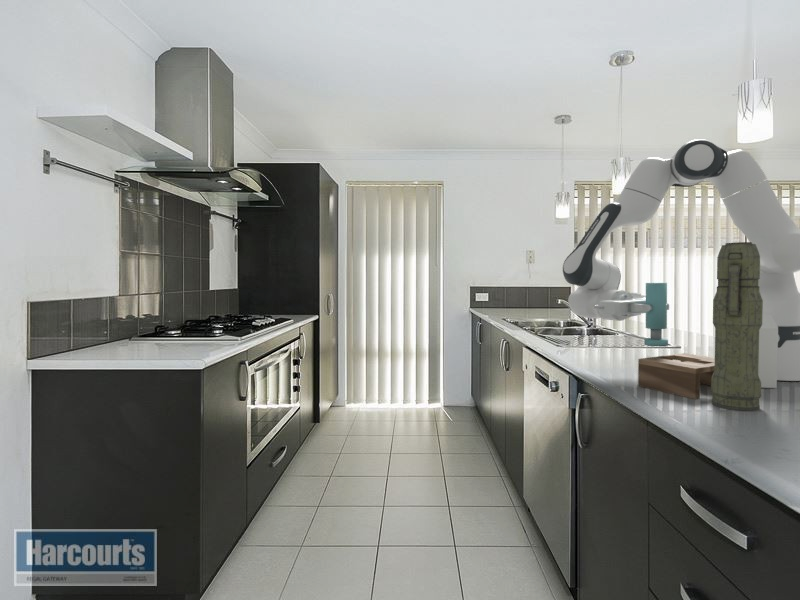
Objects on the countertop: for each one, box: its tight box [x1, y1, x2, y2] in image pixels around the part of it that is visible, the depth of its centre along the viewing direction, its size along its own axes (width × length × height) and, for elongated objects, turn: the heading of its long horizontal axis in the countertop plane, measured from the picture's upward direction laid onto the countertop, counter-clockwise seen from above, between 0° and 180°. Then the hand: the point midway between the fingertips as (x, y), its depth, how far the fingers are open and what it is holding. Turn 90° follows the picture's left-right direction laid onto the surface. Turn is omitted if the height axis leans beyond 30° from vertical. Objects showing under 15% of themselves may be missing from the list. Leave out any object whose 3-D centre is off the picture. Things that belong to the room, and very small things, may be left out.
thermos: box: [710, 241, 763, 412], centre depth 106 cm, size 9×12×35 cm
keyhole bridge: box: [637, 352, 715, 400], centre depth 123 cm, size 18×15×7 cm
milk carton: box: [758, 311, 778, 389], centre depth 125 cm, size 7×7×19 cm
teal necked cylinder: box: [643, 282, 669, 347], centre depth 131 cm, size 6×6×16 cm
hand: (659, 307), depth 130 cm, fingers closed on teal necked cylinder, 5 cm apart
